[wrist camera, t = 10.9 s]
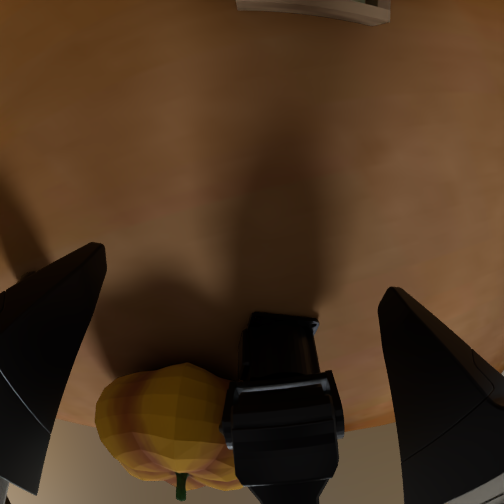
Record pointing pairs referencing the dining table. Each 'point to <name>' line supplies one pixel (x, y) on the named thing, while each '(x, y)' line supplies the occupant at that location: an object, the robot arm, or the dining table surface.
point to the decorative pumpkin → (169, 427)
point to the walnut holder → (327, 9)
